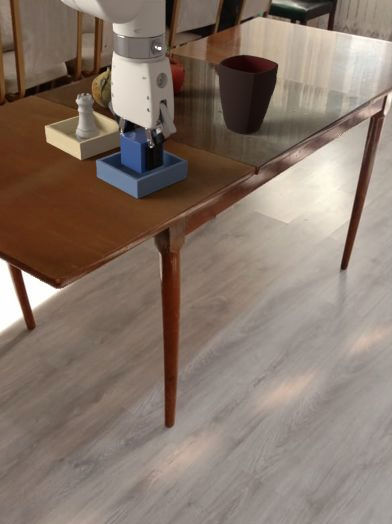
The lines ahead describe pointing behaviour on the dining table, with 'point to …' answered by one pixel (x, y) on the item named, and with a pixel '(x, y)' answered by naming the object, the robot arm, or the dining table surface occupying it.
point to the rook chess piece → (85, 118)
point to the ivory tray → (66, 140)
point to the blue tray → (137, 182)
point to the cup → (246, 91)
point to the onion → (102, 88)
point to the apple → (176, 72)
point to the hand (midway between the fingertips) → (142, 161)
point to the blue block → (135, 149)
